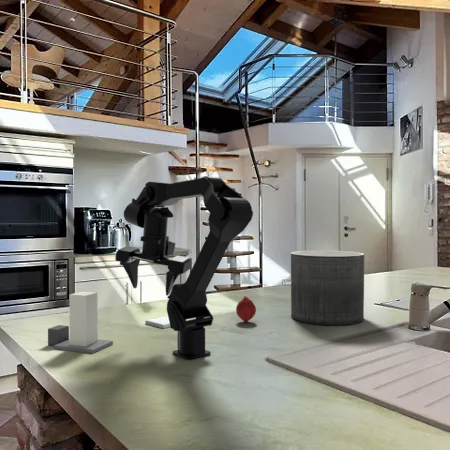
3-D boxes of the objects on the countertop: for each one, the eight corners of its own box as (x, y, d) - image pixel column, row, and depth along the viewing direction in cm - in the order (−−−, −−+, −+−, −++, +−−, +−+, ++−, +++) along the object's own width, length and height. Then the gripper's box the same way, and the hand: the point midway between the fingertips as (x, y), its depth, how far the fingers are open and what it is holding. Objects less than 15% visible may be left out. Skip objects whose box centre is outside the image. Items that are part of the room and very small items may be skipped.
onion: (259, 322, 135) (259, 295, 135) (247, 325, 131) (247, 297, 131) (244, 319, 139) (244, 293, 139) (232, 322, 135) (232, 295, 135)
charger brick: (97, 341, 111) (97, 292, 111) (86, 346, 107) (85, 295, 107) (81, 339, 113) (81, 291, 112) (69, 344, 108) (69, 294, 108)
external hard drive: (145, 325, 133) (177, 318, 142) (163, 330, 127) (195, 322, 136) (145, 320, 133) (177, 313, 142) (163, 324, 127) (195, 317, 136)
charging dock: (112, 344, 112) (112, 327, 112) (93, 353, 104) (93, 335, 104) (64, 338, 116) (64, 323, 116) (42, 347, 109) (42, 330, 109)
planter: (306, 328, 128) (307, 257, 127) (281, 312, 149) (281, 251, 149) (378, 324, 132) (378, 255, 132) (343, 309, 154) (343, 250, 153)
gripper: (201, 232, 118) (196, 289, 121) (137, 221, 123) (134, 275, 126) (184, 241, 107) (179, 303, 111) (115, 228, 112) (112, 288, 116)
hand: (151, 291), depth 116 cm, fingers open, 9 cm apart
